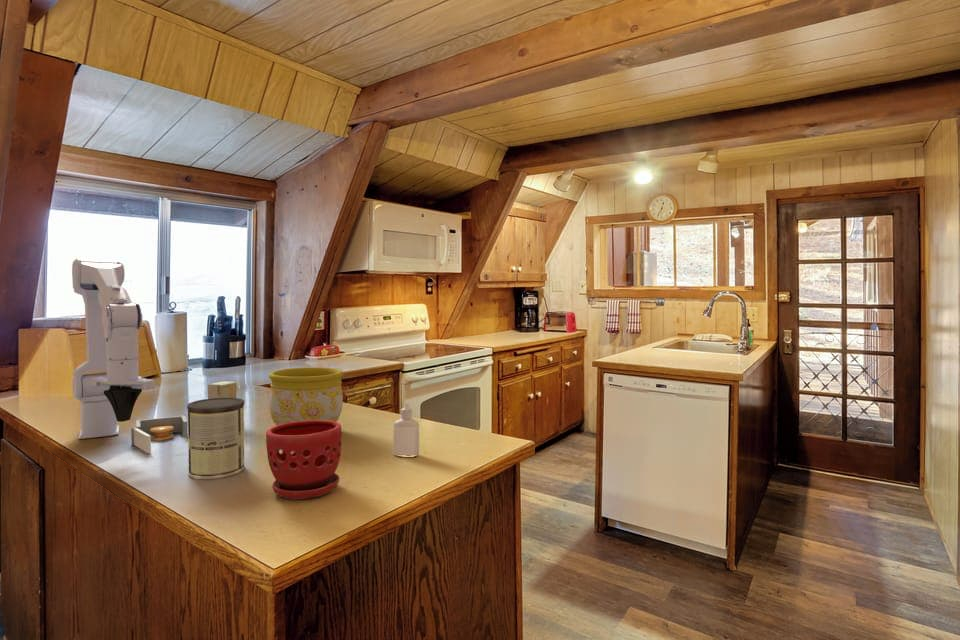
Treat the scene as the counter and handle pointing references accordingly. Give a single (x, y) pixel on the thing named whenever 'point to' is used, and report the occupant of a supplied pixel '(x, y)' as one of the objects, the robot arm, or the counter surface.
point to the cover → (141, 439)
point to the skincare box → (222, 390)
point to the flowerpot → (305, 394)
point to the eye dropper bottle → (406, 434)
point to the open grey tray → (164, 424)
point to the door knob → (162, 432)
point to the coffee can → (216, 437)
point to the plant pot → (304, 457)
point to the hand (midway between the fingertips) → (123, 420)
